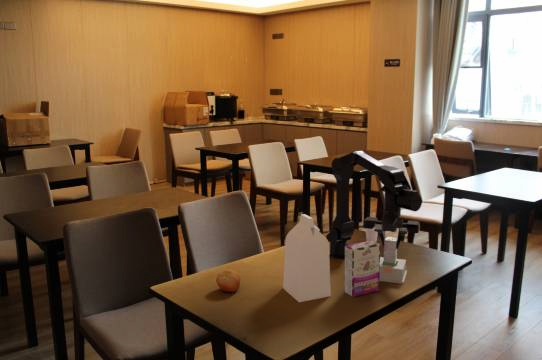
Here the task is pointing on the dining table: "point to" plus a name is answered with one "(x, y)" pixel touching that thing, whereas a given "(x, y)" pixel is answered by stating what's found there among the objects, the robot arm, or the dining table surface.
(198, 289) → the dining table surface
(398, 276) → the stand base
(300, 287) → the milk
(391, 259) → the column
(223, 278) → the fruit
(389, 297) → the dining table surface
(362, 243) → the candy bar box
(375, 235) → the smoothie
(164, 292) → the dining table surface
